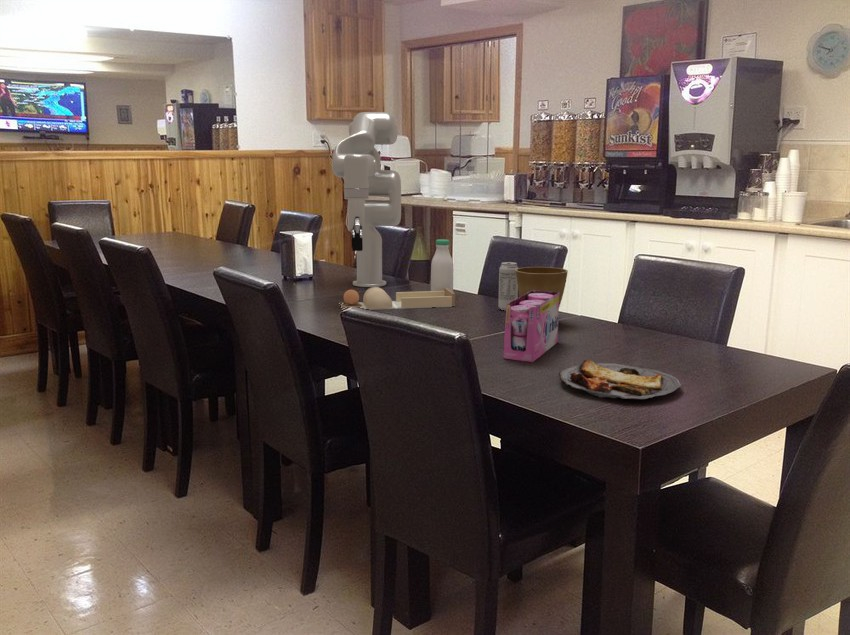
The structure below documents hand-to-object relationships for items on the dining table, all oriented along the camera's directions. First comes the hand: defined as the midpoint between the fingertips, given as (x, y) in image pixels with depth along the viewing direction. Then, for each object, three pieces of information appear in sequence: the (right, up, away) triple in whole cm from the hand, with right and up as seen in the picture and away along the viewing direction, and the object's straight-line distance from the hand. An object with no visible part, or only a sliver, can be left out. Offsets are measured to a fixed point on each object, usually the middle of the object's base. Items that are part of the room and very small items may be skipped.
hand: (356, 249), depth 243 cm
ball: (-2, -15, +4) cm, 16 cm away
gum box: (+49, -30, -48) cm, 74 cm away
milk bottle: (+27, -15, +22) cm, 38 cm away
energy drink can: (+48, -19, +2) cm, 52 cm away
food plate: (+63, -37, -78) cm, 107 cm away
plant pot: (+55, -24, -17) cm, 62 cm away
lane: (+12, -20, +8) cm, 25 cm away
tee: (-2, -18, +5) cm, 19 cm away
